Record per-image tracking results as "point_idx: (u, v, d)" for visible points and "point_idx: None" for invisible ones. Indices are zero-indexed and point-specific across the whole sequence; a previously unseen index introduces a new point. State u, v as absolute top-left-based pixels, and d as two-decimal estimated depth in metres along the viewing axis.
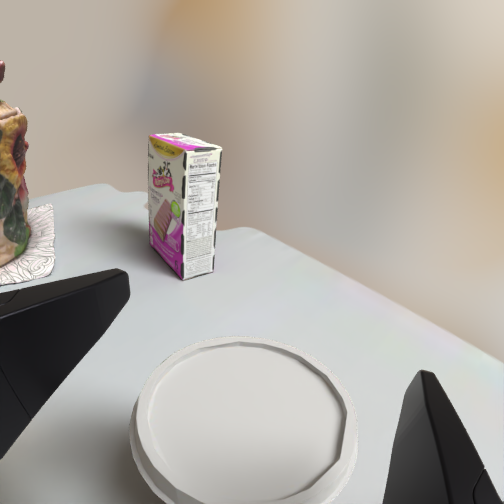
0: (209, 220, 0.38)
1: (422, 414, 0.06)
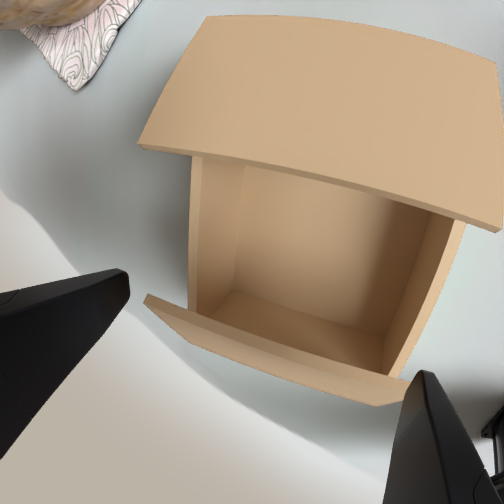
0: None
1: (422, 414, 0.06)
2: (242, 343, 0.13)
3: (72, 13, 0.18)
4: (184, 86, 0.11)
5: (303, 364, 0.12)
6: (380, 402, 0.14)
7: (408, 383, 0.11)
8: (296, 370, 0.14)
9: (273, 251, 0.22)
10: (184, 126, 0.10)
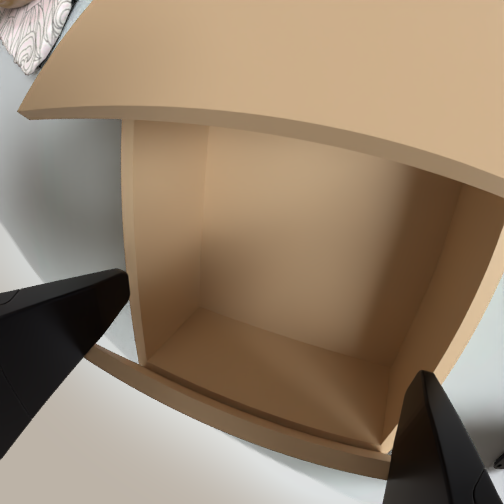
0: None
1: (422, 414, 0.06)
2: None
3: None
4: (87, 25, 0.06)
5: (266, 447, 0.07)
6: None
7: None
8: None
9: (245, 260, 0.17)
10: (70, 75, 0.05)
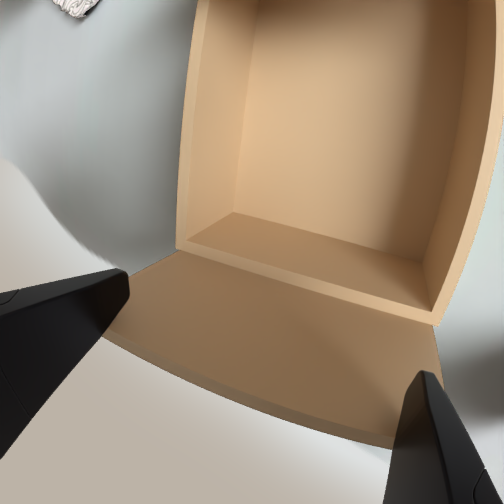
0: None
1: (422, 414, 0.06)
2: None
3: None
4: None
5: (280, 416, 0.08)
6: None
7: None
8: None
9: (283, 155, 0.18)
10: None
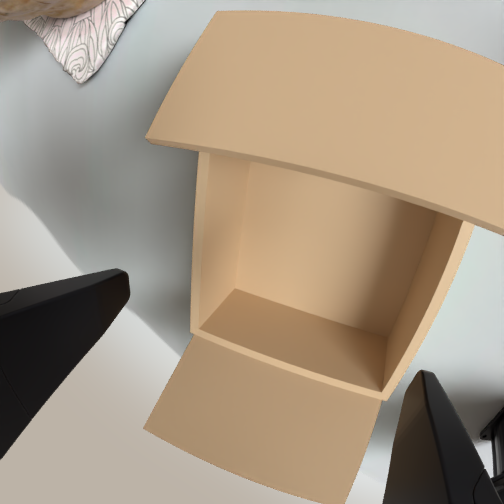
0: None
1: (422, 414, 0.06)
2: None
3: (79, 4, 0.17)
4: (194, 80, 0.11)
5: None
6: None
7: None
8: None
9: (277, 250, 0.22)
10: (194, 121, 0.10)
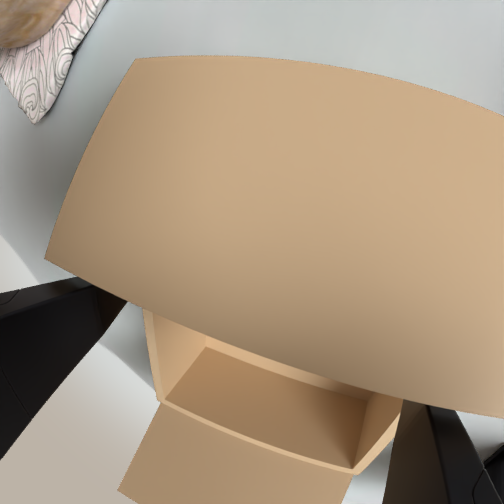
0: None
1: (422, 414, 0.06)
2: None
3: (26, 35, 0.15)
4: (93, 178, 0.08)
5: None
6: None
7: None
8: None
9: None
10: (89, 246, 0.08)
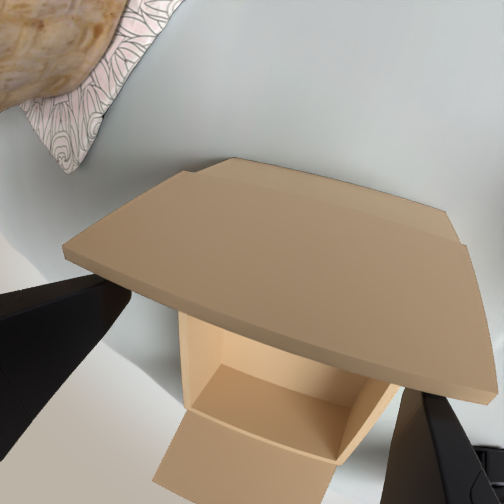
0: None
1: (420, 413, 0.06)
2: None
3: (55, 91, 0.20)
4: (135, 215, 0.10)
5: None
6: None
7: None
8: None
9: (254, 342, 0.24)
10: (117, 246, 0.09)
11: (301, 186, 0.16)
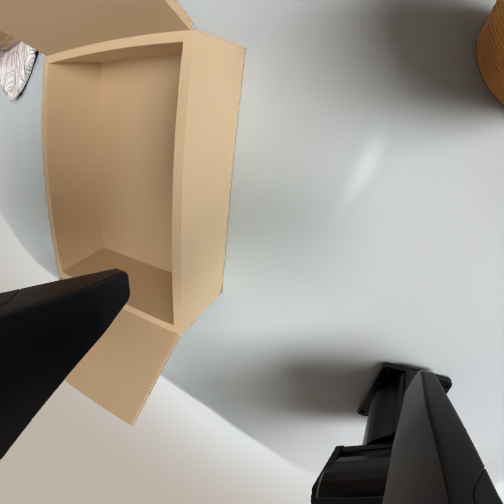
0: None
1: (422, 414, 0.06)
2: None
3: (8, 42, 0.21)
4: None
5: None
6: None
7: (123, 420, 0.17)
8: None
9: (120, 212, 0.26)
10: None
11: None
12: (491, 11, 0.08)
